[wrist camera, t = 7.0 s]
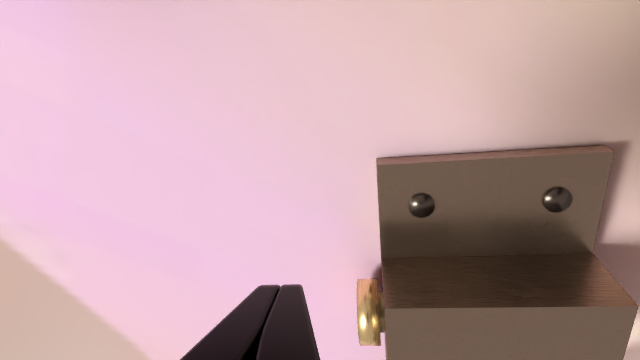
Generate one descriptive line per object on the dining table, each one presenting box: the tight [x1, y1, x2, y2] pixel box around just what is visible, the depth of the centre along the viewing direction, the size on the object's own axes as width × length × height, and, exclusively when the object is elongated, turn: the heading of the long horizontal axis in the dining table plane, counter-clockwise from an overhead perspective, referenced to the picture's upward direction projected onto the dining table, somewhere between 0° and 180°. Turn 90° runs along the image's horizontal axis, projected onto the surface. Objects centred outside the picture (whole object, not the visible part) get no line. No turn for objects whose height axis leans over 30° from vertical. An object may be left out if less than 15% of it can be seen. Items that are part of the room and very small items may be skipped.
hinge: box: [376, 145, 638, 360], centre depth 20 cm, size 10×15×4 cm
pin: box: [357, 279, 385, 346], centre depth 20 cm, size 12×3×3 cm, turn 96°
